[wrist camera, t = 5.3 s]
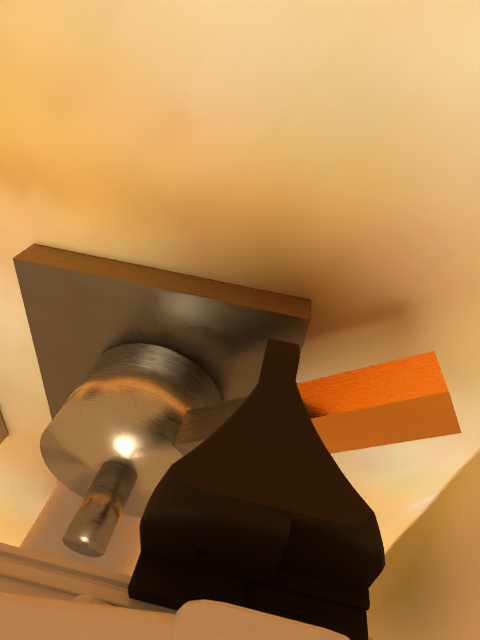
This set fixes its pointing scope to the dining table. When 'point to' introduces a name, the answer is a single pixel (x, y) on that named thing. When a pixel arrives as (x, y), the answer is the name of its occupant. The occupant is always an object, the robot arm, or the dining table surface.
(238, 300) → the chuck base
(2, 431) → the tray
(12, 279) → the dining table surface
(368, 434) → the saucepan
